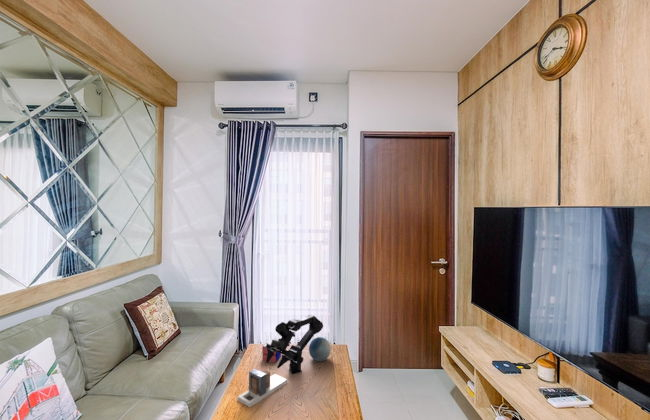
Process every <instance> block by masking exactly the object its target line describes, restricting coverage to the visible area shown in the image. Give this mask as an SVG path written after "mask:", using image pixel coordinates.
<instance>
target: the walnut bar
mask: <svg viewBox="0 0 650 420" xmlns="http://www.w3.org/2000/svg"><path fill="white" fill-rule="evenodd" d="M262 372H263V373H265V374H266V389H267V388H268V387H270V377H271V372H269V371H267V370H263V371H262ZM252 393H254V394H256V395H257V394H259V379H258V378H256V377H252Z"/></svg>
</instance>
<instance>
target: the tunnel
mask: <svg viewBox="0 0 650 420" xmlns="http://www.w3.org/2000/svg"><path fill="white" fill-rule="evenodd" d="M252 377H256V378H258V379H259V396H262V395H263V394H265V393H266V374H265V373H263V371H261V370H259V369H257V368H253V369H251V370H249V371H248V390H250V391H252Z"/></svg>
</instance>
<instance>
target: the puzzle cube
mask: <svg viewBox="0 0 650 420" xmlns="http://www.w3.org/2000/svg"><path fill="white" fill-rule="evenodd" d="M268 343H270V344H271V343H272V340H270V339H268V340H267V341H266V342H265V343H264V344H263V345H262V351H261V352H262V355H261V356H262V362H266V360H267V354H268V351H267V349H266V345H267V344H268ZM273 353H274V355H273V356H272V358H271V359H270V361H269V362H270V363H277V362H278V361H279V359H281V357H282V354H281V353H278V352H276V351H275V352H273Z"/></svg>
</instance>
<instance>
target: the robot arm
mask: <svg viewBox="0 0 650 420" xmlns="http://www.w3.org/2000/svg"><path fill="white" fill-rule="evenodd" d="M323 323H324V322H322V321H320V319H318V318H317V317H316V316H315V315H312V314H308V315H307V316H304V317H301V318H297V319H293V318H292V319H289V320H288V321H287V322H286V323H285V322H284V321H281V322H280V323H278V324H277V325H276V326H275V328H274V329H275V332H276V333H277V334H278V335H279V336H280V337H281V338H278V339H272V340H271V341H272V343H271V344H270V343H268V344H267V345H266V349H267V351H268V354H267V360H266V361H265V364H268V363H269V362H270V359H271V358H272V356H273V355H274V353H273V352H275V351H276V352H278V353H281V357H280V361H279V363H278V364H277V366H276V368H277V369H280V368H281V367H282V366H283V365H285V364H286V363H287V362H289V365H288V370H289V372H290V373H291V374H292V375H294V374H295V375H296V374H298V373H302V372H303V370H302V363H303V362H304V357H303V356H302V355H303V351H304V349H305V348H306V346H307V345H308V343H309V342H310V341H312V340H311V339H312V338H313V337H314V336H315V335H316V334H318V333H320V332H321V331H322V329H323V327H324V324H323ZM307 325H308V326H309V327H308V330H307V331H306V332H305V333H304V335H303V336H302V337H301V339H300V340H299V341H298V343H297V344H296V345H294V344H293V345H291V346H290V342H291V340H292V339H293V338H295V337H296V334H295V332H297V331H299V330H301V328H302V327H304V326H307ZM288 347H290V348H288ZM287 349H288V350H287Z"/></svg>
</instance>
